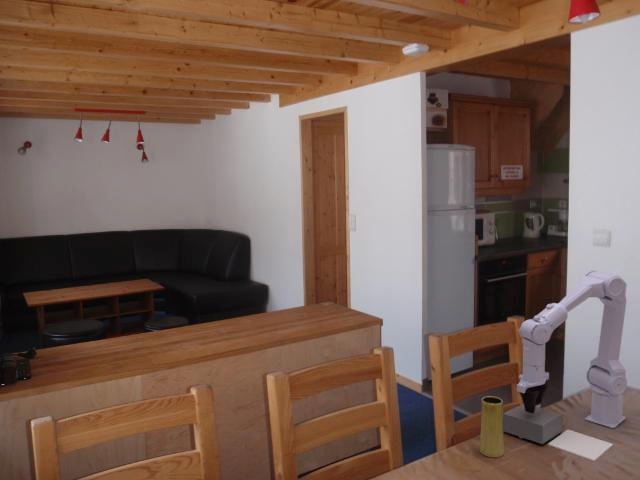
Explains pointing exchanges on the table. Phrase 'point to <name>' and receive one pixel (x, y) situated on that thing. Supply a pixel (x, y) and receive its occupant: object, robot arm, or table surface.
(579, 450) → the mat
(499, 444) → the vase
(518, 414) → the cover
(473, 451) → the table surface
